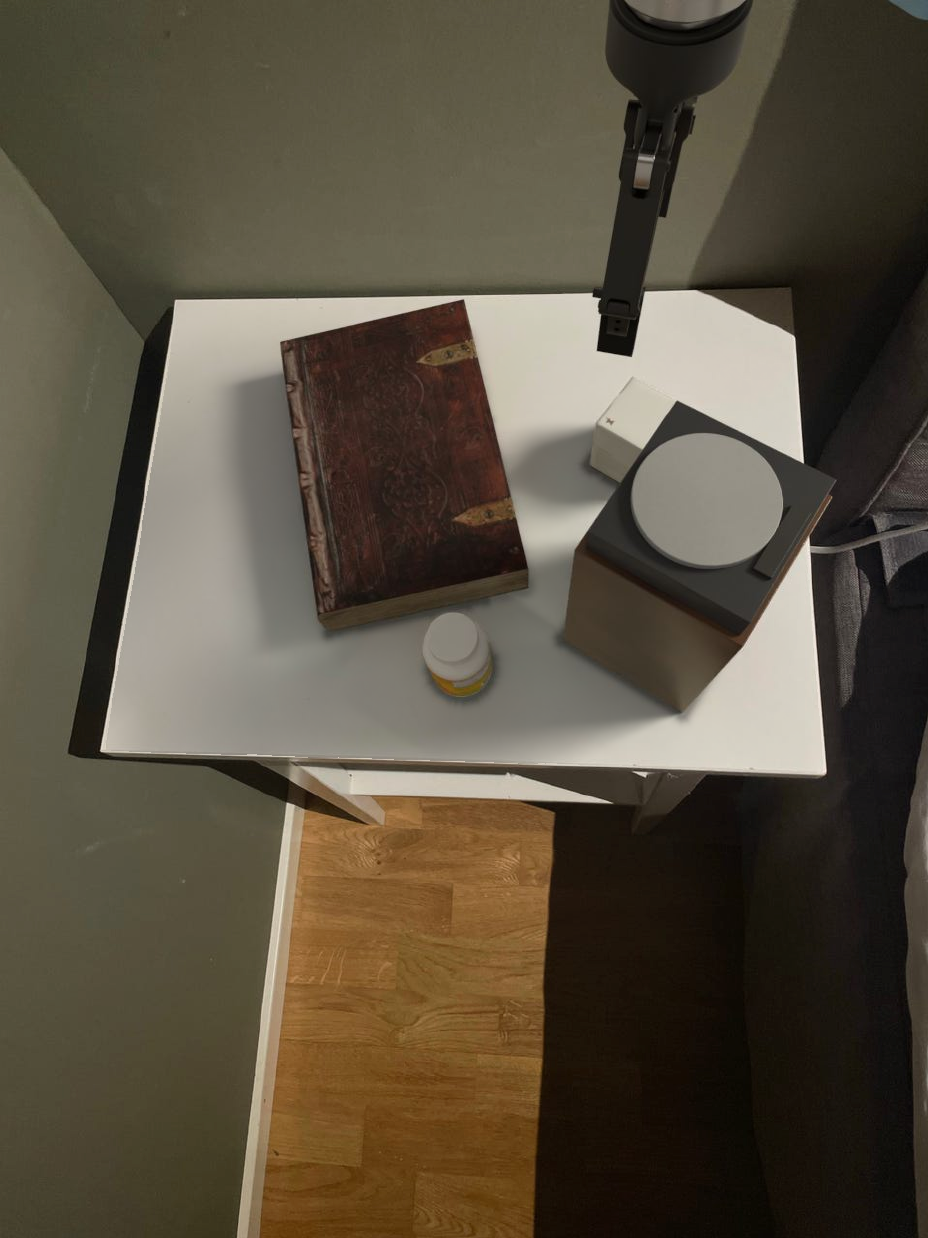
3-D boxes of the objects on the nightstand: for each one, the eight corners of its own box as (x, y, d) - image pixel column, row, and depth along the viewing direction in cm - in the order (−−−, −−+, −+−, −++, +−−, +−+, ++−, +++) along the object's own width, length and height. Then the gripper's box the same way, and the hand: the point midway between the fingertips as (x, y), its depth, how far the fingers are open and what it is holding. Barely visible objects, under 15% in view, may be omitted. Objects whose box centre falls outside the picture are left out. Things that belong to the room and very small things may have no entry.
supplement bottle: (424, 651, 70) (408, 616, 61) (480, 631, 70) (473, 593, 61) (443, 707, 68) (429, 680, 59) (501, 686, 68) (496, 656, 59)
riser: (750, 601, 69) (833, 496, 50) (682, 713, 66) (743, 646, 47) (631, 535, 72) (667, 412, 53) (562, 640, 69) (574, 550, 50)
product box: (641, 498, 73) (653, 458, 66) (587, 465, 74) (593, 423, 68) (677, 450, 74) (692, 406, 67) (623, 419, 76) (632, 373, 69)
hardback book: (290, 371, 81) (275, 339, 76) (467, 333, 80) (464, 298, 76) (327, 631, 71) (313, 614, 66) (528, 589, 71) (528, 568, 66)
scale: (822, 498, 50) (840, 474, 47) (739, 636, 48) (753, 620, 45) (670, 421, 53) (678, 394, 50) (584, 547, 50) (588, 527, 47)
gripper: (657, -171, 45) (618, 153, 65) (558, 151, 38) (549, 404, 58) (790, -163, 44) (709, 164, 64) (714, 172, 37) (650, 422, 57)
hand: (633, 279), depth 61 cm, fingers open, 13 cm apart
